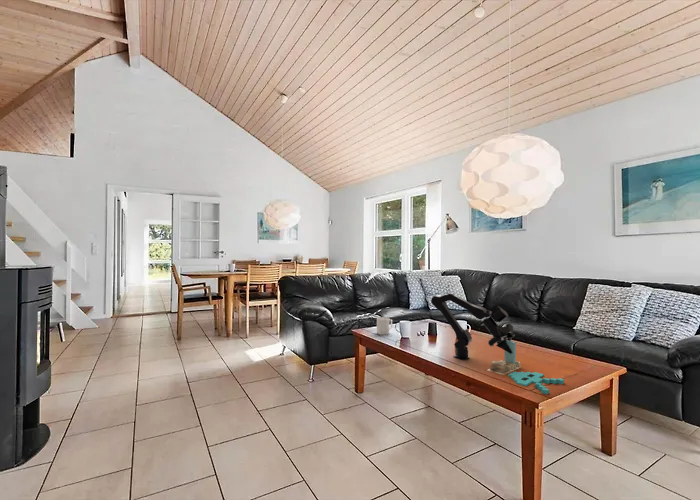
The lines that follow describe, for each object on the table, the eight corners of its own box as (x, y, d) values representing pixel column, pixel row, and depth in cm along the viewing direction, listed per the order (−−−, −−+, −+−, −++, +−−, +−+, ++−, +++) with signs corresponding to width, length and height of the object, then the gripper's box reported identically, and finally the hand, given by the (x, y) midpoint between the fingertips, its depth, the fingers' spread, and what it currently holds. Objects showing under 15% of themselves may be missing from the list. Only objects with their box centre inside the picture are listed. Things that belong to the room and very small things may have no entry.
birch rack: (486, 371, 186) (486, 365, 186) (504, 364, 198) (504, 358, 198) (503, 376, 179) (503, 369, 179) (521, 369, 191) (521, 362, 191)
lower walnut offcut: (490, 369, 187) (490, 365, 187) (494, 368, 189) (494, 364, 189) (503, 373, 181) (503, 369, 181) (507, 371, 184) (507, 367, 184)
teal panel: (504, 363, 194) (504, 340, 194) (506, 362, 195) (506, 340, 195) (513, 365, 190) (514, 342, 190) (515, 365, 191) (515, 342, 191)
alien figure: (563, 384, 172) (520, 372, 187) (564, 379, 172) (520, 368, 187) (546, 395, 159) (501, 382, 174) (547, 390, 159) (501, 377, 174)
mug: (380, 335, 258) (380, 320, 258) (374, 333, 266) (374, 317, 266) (395, 334, 264) (395, 318, 264) (388, 331, 272) (388, 316, 272)
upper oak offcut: (491, 366, 186) (491, 362, 186) (494, 364, 189) (494, 360, 189) (503, 369, 182) (503, 365, 182) (506, 367, 185) (506, 363, 185)
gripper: (494, 321, 189) (515, 347, 181) (512, 316, 201) (532, 341, 193) (480, 333, 195) (499, 359, 187) (498, 328, 207) (517, 352, 199)
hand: (512, 352), depth 191 cm, fingers closed on teal panel, 2 cm apart
